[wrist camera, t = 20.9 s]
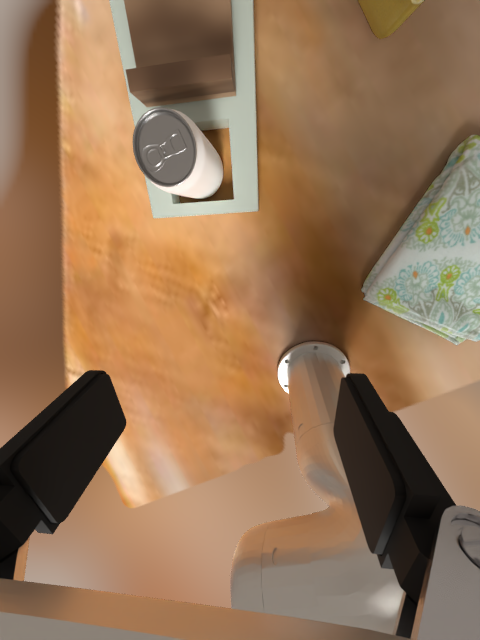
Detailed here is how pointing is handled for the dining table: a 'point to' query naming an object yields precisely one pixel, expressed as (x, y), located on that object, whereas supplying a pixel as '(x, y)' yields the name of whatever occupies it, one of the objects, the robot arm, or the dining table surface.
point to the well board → (211, 118)
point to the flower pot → (387, 14)
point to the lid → (181, 50)
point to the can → (176, 154)
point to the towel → (437, 255)
